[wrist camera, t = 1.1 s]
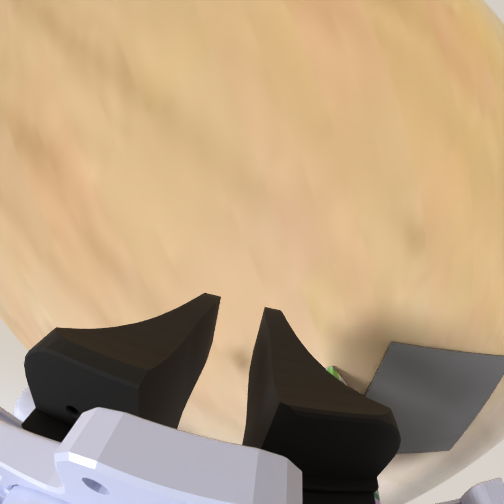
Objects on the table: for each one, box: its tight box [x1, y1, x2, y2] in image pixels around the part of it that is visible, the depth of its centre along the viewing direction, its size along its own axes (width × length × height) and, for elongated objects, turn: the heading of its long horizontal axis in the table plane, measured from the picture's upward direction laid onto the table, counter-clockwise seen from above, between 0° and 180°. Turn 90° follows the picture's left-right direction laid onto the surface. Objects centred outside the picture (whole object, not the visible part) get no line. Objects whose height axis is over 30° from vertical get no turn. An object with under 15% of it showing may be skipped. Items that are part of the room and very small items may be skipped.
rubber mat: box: [364, 342, 504, 453], centre depth 24 cm, size 16×14×1 cm
